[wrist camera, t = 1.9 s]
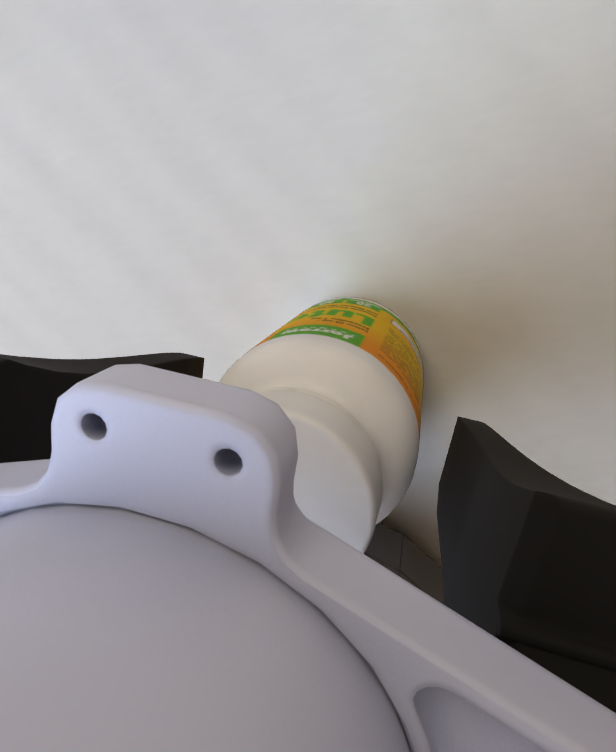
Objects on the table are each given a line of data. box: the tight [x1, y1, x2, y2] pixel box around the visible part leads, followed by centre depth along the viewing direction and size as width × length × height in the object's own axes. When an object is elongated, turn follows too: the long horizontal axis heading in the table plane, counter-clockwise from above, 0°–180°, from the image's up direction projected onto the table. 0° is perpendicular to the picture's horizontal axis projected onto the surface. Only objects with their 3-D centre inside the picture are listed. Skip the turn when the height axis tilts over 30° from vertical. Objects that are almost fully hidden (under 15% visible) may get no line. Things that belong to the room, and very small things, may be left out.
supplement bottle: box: [219, 297, 424, 554], centre depth 14 cm, size 5×5×10 cm
